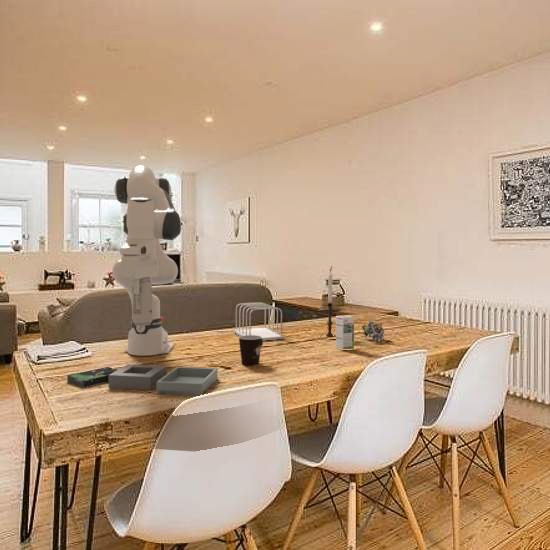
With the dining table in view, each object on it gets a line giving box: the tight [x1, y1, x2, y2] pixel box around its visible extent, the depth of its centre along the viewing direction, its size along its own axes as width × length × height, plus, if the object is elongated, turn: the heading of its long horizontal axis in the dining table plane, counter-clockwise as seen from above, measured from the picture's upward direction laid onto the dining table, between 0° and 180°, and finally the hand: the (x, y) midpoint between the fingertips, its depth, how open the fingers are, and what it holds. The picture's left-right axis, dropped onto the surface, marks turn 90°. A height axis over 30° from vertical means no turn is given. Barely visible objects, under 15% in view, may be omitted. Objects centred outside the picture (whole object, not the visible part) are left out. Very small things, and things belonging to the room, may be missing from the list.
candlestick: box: [318, 265, 342, 338], centre depth 230 cm, size 11×11×35 cm
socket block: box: [108, 363, 168, 390], centre depth 155 cm, size 14×14×4 cm
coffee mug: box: [238, 335, 264, 367], centre depth 181 cm, size 12×9×10 cm
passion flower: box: [361, 319, 386, 343], centre depth 225 cm, size 11×11×12 cm
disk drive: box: [67, 366, 118, 388], centre depth 158 cm, size 10×3×15 cm
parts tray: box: [155, 366, 219, 396], centre depth 152 cm, size 18×14×4 cm
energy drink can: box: [131, 277, 153, 326], centre depth 153 cm, size 6×6×15 cm
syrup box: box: [335, 314, 355, 349], centre depth 206 cm, size 6×6×14 cm
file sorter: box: [233, 301, 285, 342], centre depth 234 cm, size 25×17×16 cm
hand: (141, 292), depth 153 cm, fingers closed on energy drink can, 6 cm apart
